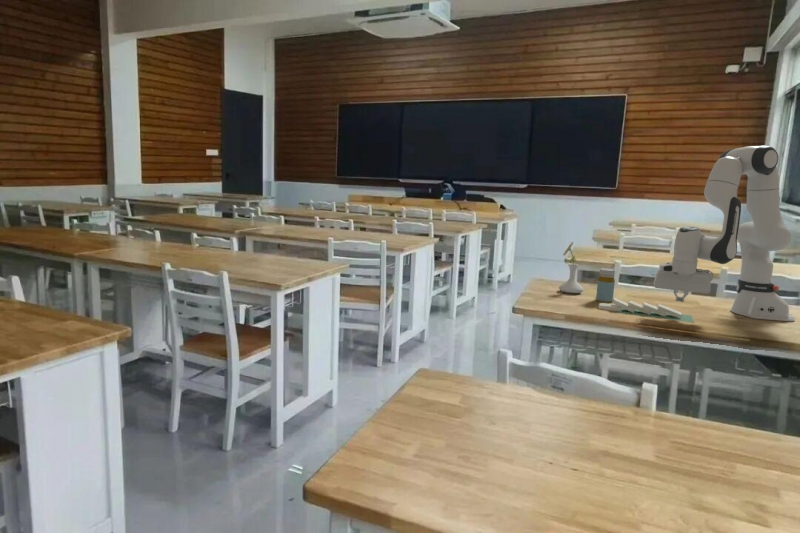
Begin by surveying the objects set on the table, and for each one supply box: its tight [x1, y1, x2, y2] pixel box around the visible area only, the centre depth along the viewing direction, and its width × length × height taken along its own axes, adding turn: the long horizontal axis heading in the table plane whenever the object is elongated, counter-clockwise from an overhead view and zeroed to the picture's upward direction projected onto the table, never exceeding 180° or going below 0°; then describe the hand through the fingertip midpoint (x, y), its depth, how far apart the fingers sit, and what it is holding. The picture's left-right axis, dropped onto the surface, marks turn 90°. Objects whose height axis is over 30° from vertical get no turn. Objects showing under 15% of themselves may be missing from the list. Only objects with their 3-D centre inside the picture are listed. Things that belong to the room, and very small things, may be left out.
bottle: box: [595, 267, 616, 304], centre depth 236 cm, size 7×7×15 cm
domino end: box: [598, 302, 622, 312], centre depth 224 cm, size 2×5×9 cm
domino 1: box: [611, 296, 635, 313], centre depth 221 cm, size 2×5×9 cm
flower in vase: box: [558, 241, 584, 294], centre depth 253 cm, size 13×11×25 cm
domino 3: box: [641, 301, 667, 317], centre depth 217 cm, size 2×5×9 cm
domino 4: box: [656, 303, 683, 319], centre depth 215 cm, size 2×5×9 cm
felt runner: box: [614, 308, 695, 324], centre depth 217 cm, size 29×12×1 cm, turn 66°
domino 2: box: [628, 300, 651, 315], centre depth 219 cm, size 2×5×9 cm
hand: (679, 301), depth 213 cm, fingers closed
